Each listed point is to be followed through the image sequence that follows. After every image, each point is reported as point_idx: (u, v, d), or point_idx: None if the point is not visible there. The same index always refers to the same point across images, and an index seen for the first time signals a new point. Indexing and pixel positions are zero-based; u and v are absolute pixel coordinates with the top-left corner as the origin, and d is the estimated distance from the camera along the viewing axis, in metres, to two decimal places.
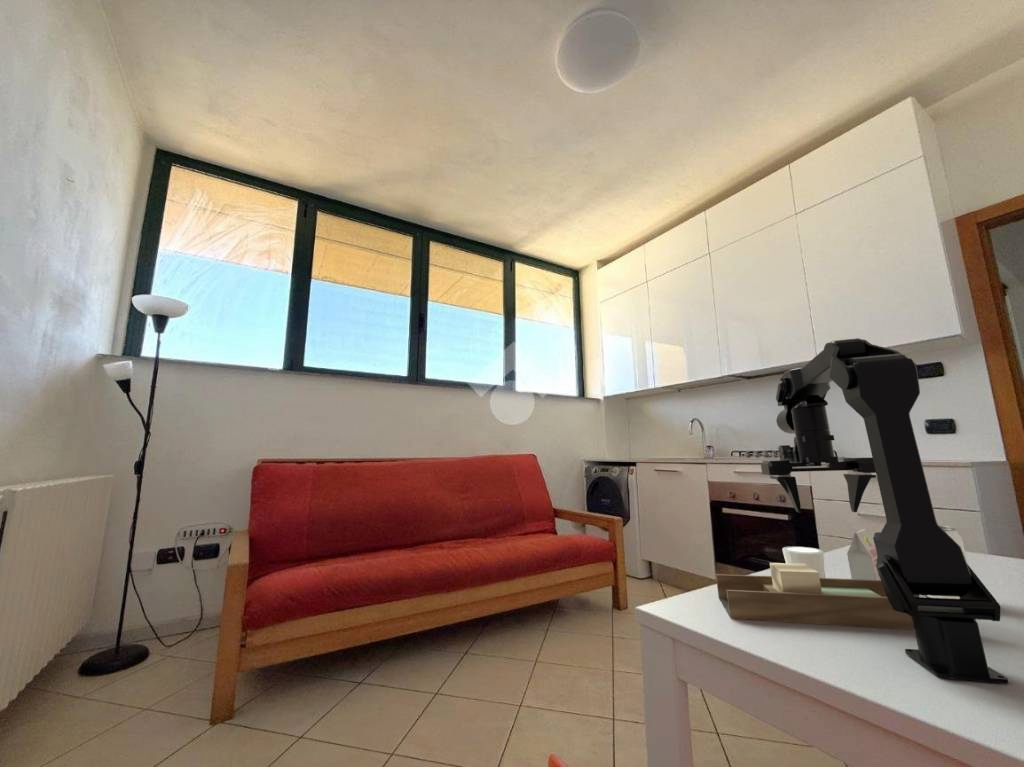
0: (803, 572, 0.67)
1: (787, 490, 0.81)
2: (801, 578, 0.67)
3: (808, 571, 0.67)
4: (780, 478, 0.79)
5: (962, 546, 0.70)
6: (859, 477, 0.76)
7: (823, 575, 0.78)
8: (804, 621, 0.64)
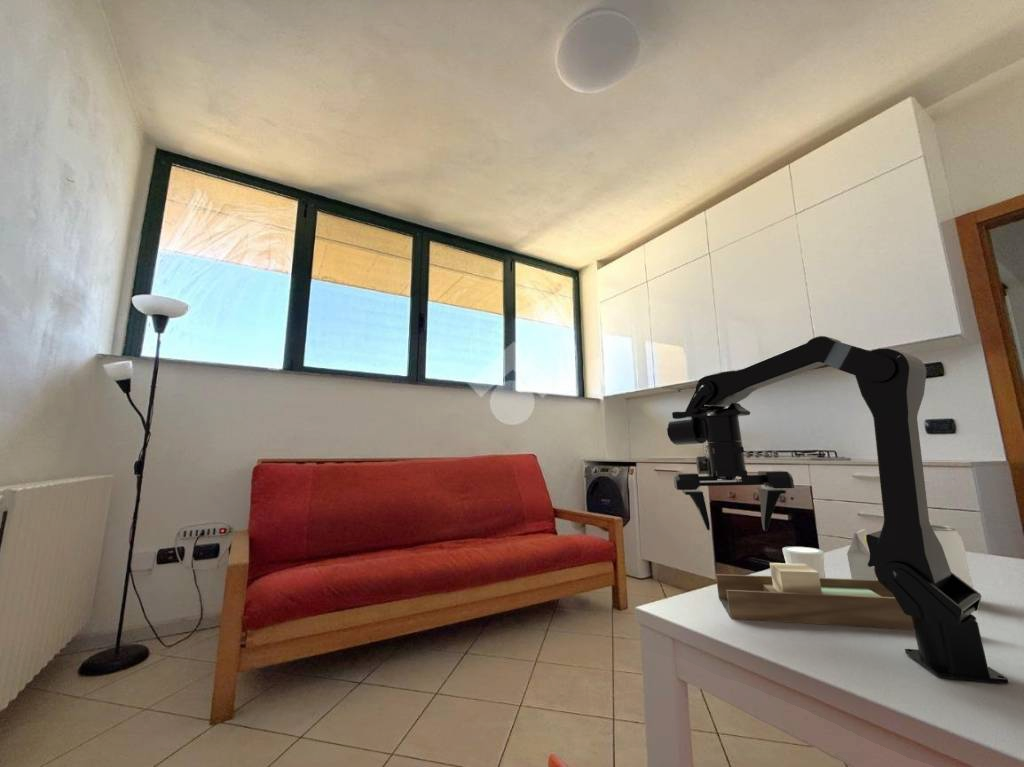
0: (803, 572, 0.67)
1: (697, 506, 0.75)
2: (801, 578, 0.67)
3: (808, 571, 0.67)
4: (687, 493, 0.73)
5: (962, 546, 0.70)
6: (768, 492, 0.70)
7: (823, 575, 0.78)
8: (804, 621, 0.64)
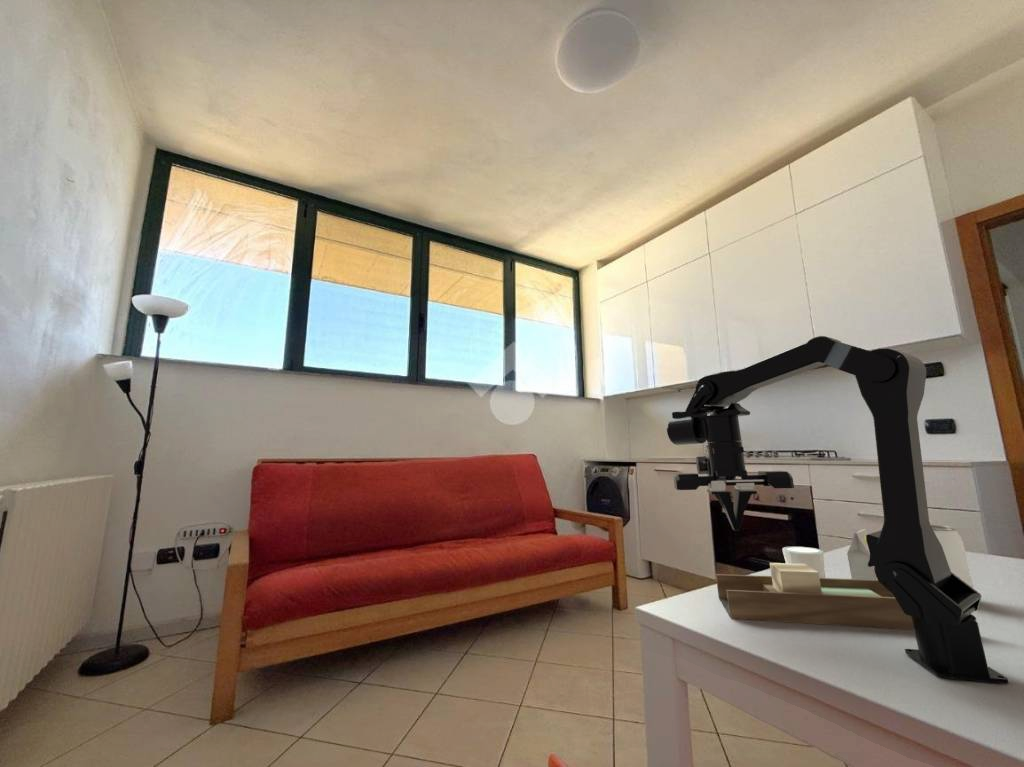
0: (803, 572, 0.67)
1: (723, 505, 0.74)
2: (801, 578, 0.67)
3: (808, 571, 0.67)
4: (714, 493, 0.72)
5: (962, 546, 0.70)
6: (740, 493, 0.71)
7: (823, 575, 0.78)
8: (804, 621, 0.64)
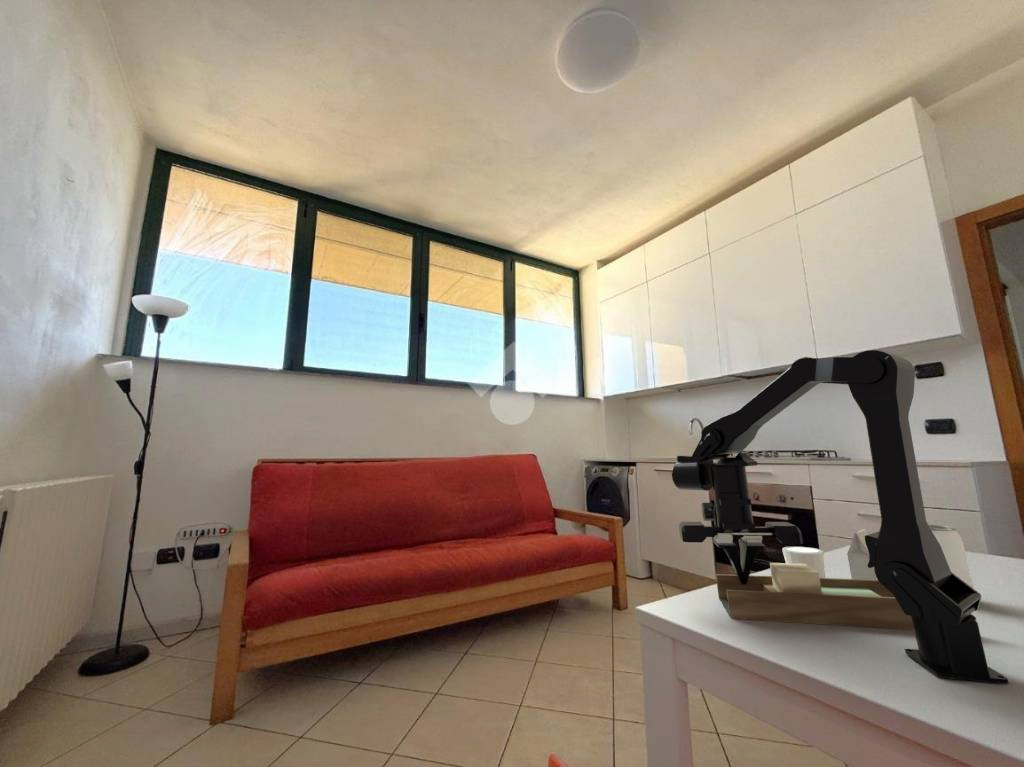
0: (803, 572, 0.67)
1: (730, 558, 0.73)
2: (801, 578, 0.67)
3: (808, 571, 0.67)
4: (720, 546, 0.70)
5: (962, 546, 0.70)
6: (747, 547, 0.69)
7: (823, 575, 0.78)
8: (804, 621, 0.64)
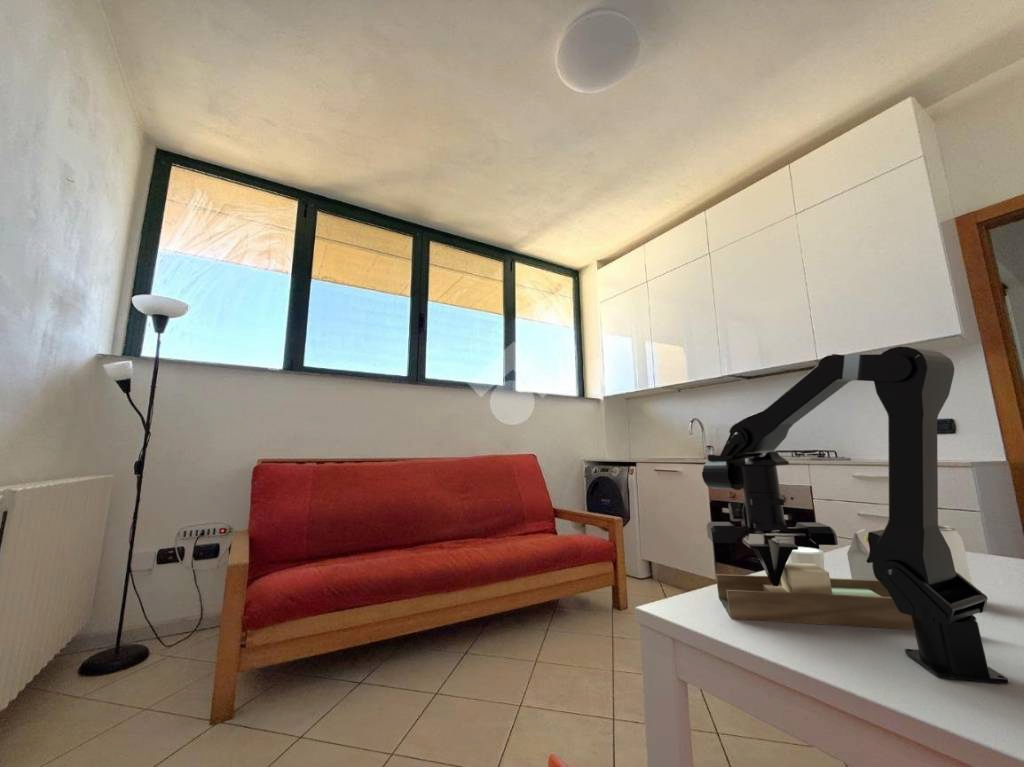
0: (813, 572, 0.66)
1: (761, 559, 0.71)
2: (811, 578, 0.66)
3: (818, 571, 0.66)
4: (752, 547, 0.69)
5: (962, 546, 0.70)
6: (780, 548, 0.68)
7: None
8: (804, 621, 0.64)
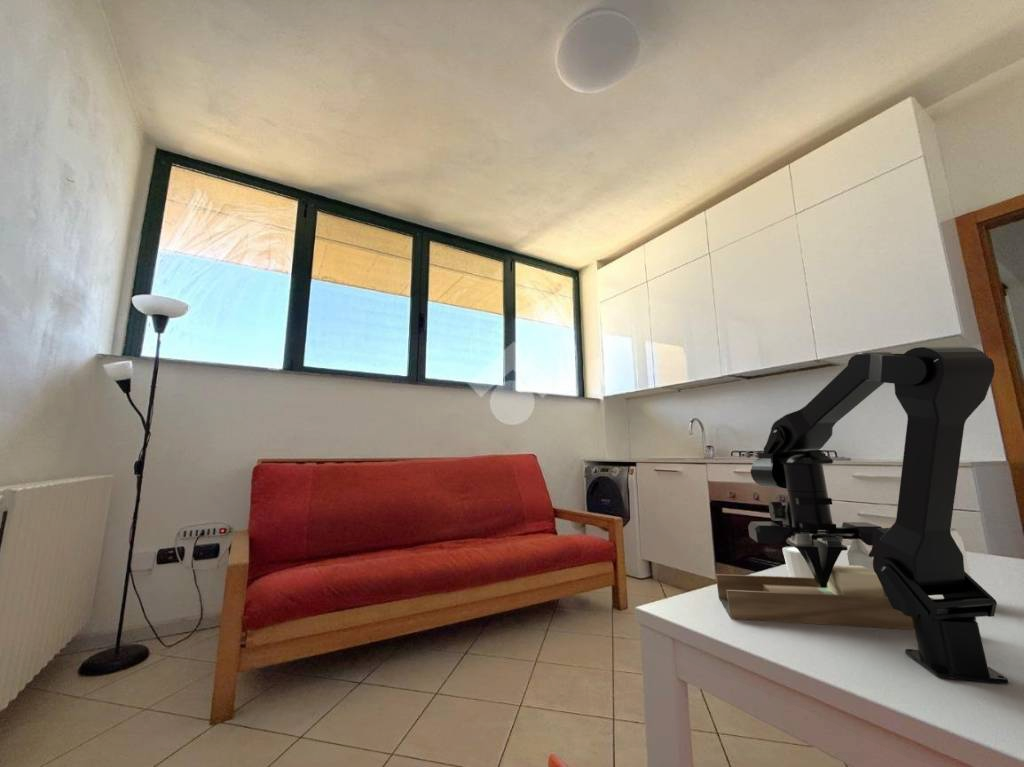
0: (864, 574, 0.64)
1: (807, 559, 0.69)
2: (861, 580, 0.64)
3: (869, 573, 0.65)
4: (800, 547, 0.67)
5: (962, 546, 0.70)
6: (829, 548, 0.66)
7: None
8: (804, 621, 0.64)
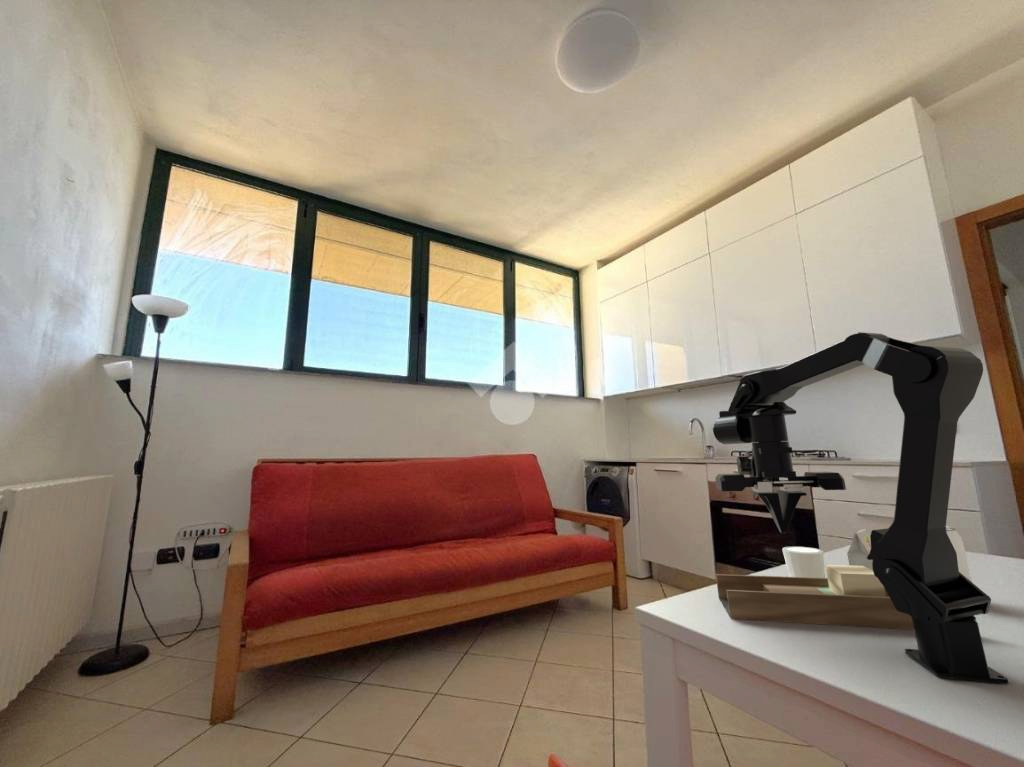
0: (865, 574, 0.64)
1: (769, 507, 0.72)
2: (863, 580, 0.64)
3: (870, 573, 0.65)
4: (761, 494, 0.70)
5: (962, 546, 0.70)
6: (789, 494, 0.69)
7: (823, 575, 0.78)
8: (804, 621, 0.64)
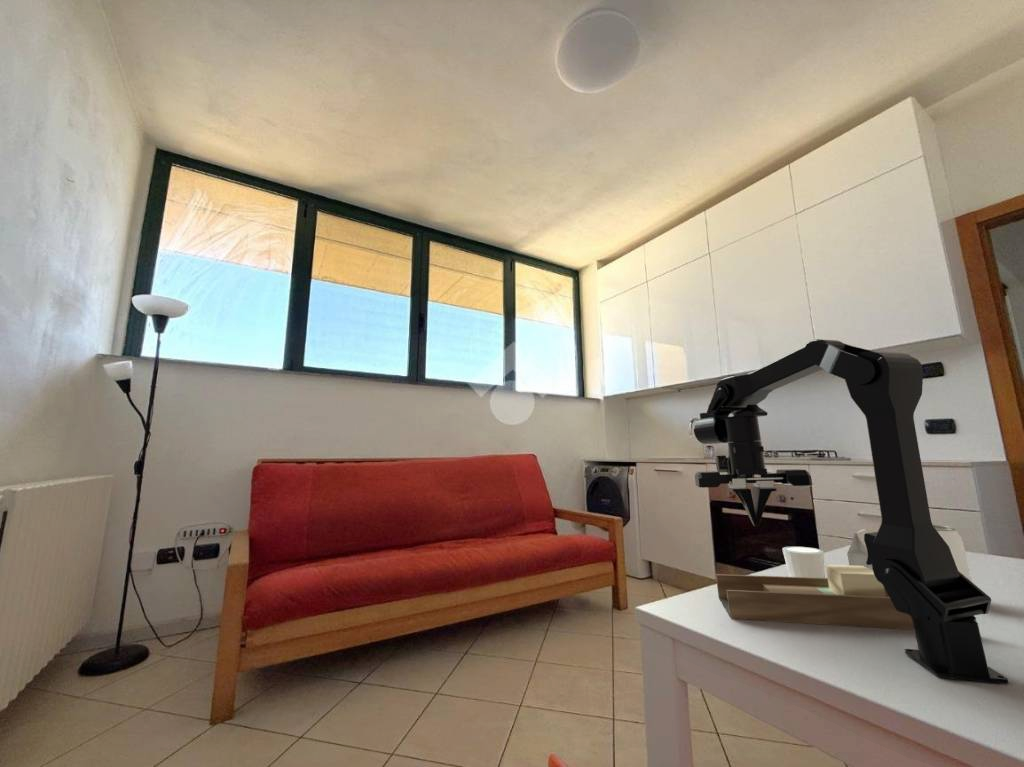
0: (865, 574, 0.64)
1: (744, 502, 0.78)
2: (863, 580, 0.64)
3: (870, 573, 0.65)
4: (735, 490, 0.76)
5: (962, 546, 0.70)
6: (760, 490, 0.74)
7: (823, 575, 0.78)
8: (804, 621, 0.64)
